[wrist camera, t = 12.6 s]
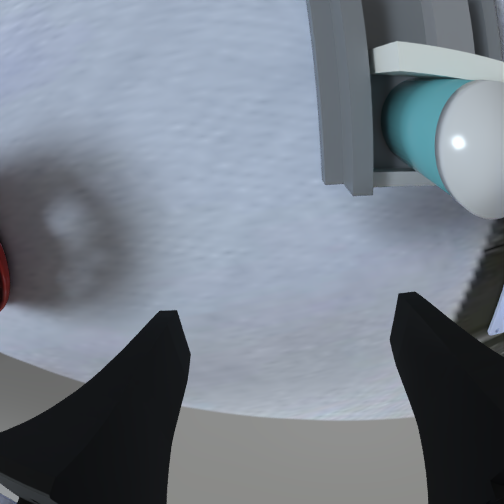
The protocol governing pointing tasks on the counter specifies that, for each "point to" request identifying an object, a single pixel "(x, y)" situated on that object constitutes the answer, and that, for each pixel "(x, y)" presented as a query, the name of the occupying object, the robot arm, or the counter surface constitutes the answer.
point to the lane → (370, 84)
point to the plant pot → (4, 279)
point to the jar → (451, 137)
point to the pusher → (438, 48)
